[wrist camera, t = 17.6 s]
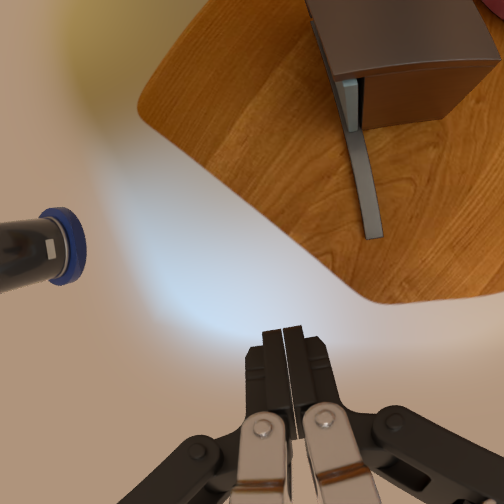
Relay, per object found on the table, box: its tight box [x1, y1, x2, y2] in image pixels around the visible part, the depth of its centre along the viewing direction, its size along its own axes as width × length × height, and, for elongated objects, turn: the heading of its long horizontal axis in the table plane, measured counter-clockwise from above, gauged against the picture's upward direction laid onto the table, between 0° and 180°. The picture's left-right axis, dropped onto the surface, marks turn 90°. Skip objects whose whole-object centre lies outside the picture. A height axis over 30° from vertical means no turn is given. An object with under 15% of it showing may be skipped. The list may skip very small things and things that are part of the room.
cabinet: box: [306, 0, 501, 240], centre depth 18 cm, size 10×22×14 cm, turn 12°
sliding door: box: [305, 0, 358, 132], centre depth 19 cm, size 1×12×11 cm, turn 11°
